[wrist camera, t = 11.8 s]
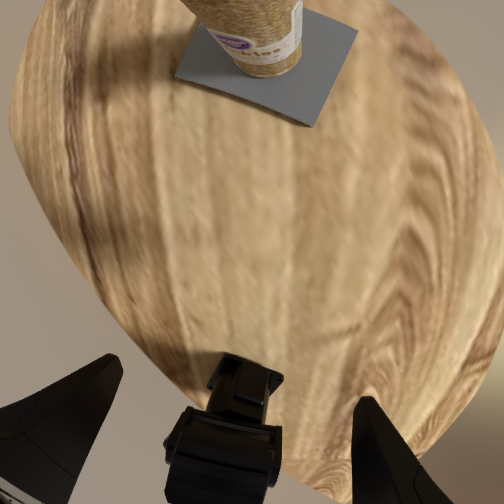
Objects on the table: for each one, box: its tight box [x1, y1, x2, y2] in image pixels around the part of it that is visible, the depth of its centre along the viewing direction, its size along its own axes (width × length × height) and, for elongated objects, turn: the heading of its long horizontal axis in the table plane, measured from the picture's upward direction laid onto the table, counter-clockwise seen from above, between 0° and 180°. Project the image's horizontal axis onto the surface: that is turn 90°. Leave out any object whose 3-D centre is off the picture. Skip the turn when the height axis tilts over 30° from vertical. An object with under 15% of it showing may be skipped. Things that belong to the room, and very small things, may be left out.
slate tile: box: [174, 8, 358, 127], centre depth 14 cm, size 8×10×1 cm
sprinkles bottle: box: [180, 0, 303, 78], centre depth 8 cm, size 5×5×14 cm
